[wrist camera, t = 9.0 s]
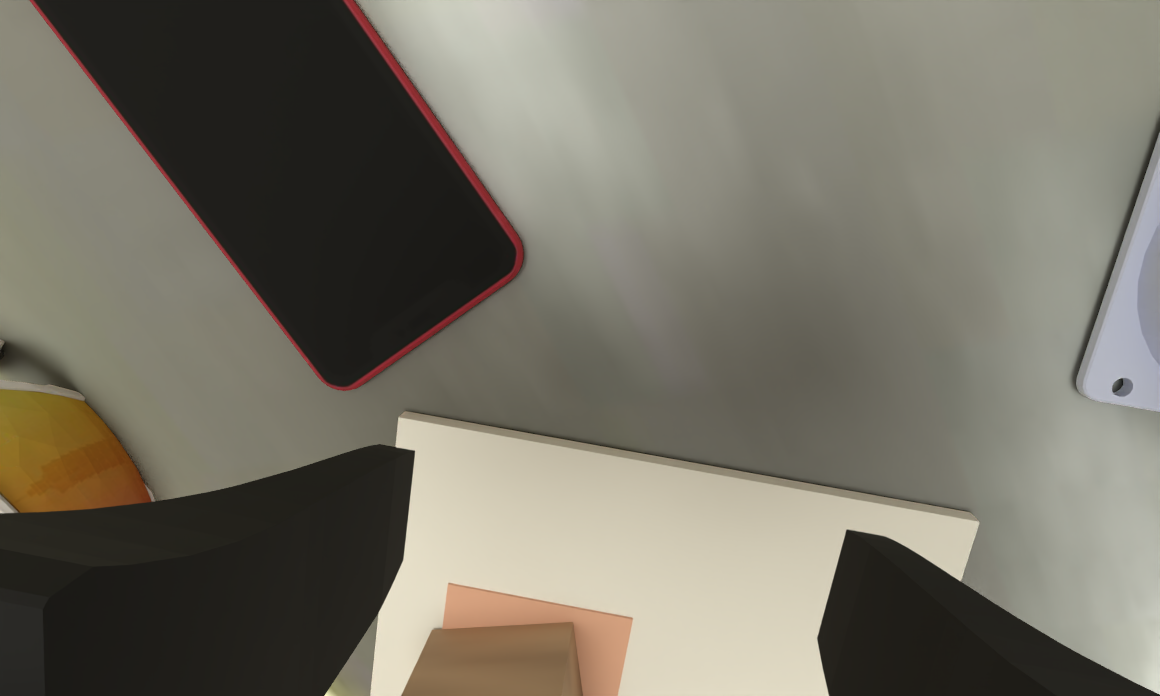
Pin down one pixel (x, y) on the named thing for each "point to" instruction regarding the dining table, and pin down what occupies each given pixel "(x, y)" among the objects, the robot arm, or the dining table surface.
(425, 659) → the card box
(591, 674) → the mat
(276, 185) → the smartphone
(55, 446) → the sunglasses
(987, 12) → the dining table surface
